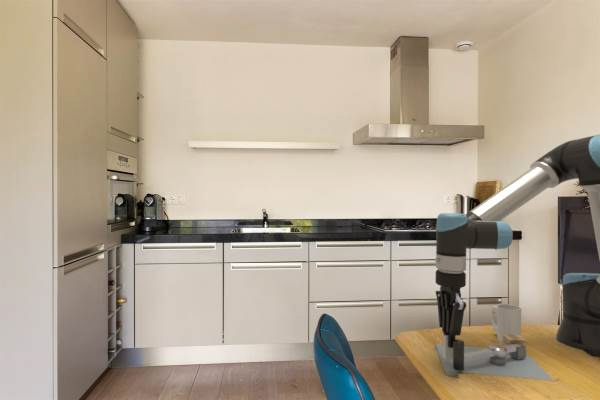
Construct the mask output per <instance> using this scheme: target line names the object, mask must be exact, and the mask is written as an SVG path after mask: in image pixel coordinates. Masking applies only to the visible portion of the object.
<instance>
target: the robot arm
mask: <svg viewBox="0 0 600 400" xmlns="http://www.w3.org/2000/svg"><path fill="white" fill-rule="evenodd" d="M576 179H577V180H578V184H579V185H578V186H579V187H581V188H582V189H583V190H585V191H586V192H587V196H588V202H589V203H588V204H589V209H590V213H591V220H592V225H593V229H594V236H595V242H596V248H597V253H598V257H599V258H598V259H599V261H600V133H599V134H596V135H591V136H586V137H583V138H578V139H571V140H568V141H566V142H564V143H561V144H559V145H557V146H555V147H554V148H553V149H552V150H550V151H548V152H546V153H545V154H544V155H542V156H541V157H540V158H538V159H536V160H535V161H534V162H532V163H531V165H530V166H529V169H528V170H527V171H525V172H523V173H522V174H521V175H520V176H518V177H516V178H515V179H514V180H513V181H511V182H510V183H508V184H507V185H505V186H504V187H502V188H501V189H500V190H498V191H497V192H495V193H494V194H493V195H491V196H490V197H489V198H487V199H486V200H484V201H483V202H481V203H480V204H478V205H477V206H475V207H474V208H473V209H471V210H470V211H468V212H466V213H456V212H455V213H452V212H451V213H450V212H444V213H439V214H437V218H436V227H435V234H436V242H435V243H436V244H435V245H436V247H435V248H436V249H435V253H436V254H435V258H434V261H435V268H436V269H437V270H435V284H436V285H438V286H439V290H435V296H436V301H437V313H438V323H439V328H441V331H442V332H443V336H442V338H443V339H442V341H443V342H442V344H443V357H444V358H445V359H453V340H454V339H456V337H457V336H461V334H462V333H461V332H462V328H463V327H462V326H463V320H464V315H465V310H466V308H467V302H464V301H462V299H461V298H462V294H461V293H462V292H461V289H462V288H464V287H466V284H467V283H466V279H467V277H466V276H467V273H466V272H465V271H466V270H467V250H468V249H469V250H471V249H473V250H475V249H477V250H479V249H482V250H499V249H500V250H503V249H508V248H509V247H510V246H511V244H512V242H513V239H514V238H513V237H514V236H513V235H514V233H513V229H512V227H511V225H510V224H509V223H508V222H506V221H503V219H505V218H507V217H508V216H509V215H511V214H512V213H514V212H515V211H517V210H518V209H520V208H521V207H523V206H524V205H525V204H526V203H527V204H528V203H529V201H531V200H532V199H534V198H535V197H537V196H538V195H540V194H541V193H542V192H544V191H546V190H547V189H552V188H553V189H554V188H555V187H557V186H559V185H560V184H562V183H564V182H567V181H570V180H576ZM561 287H562V288H561V289H562V291H561V292H562V320H561V322H560V324H559V327H558V328H557V331H556V335H555V339H556V340H557V342H559V343H561V344H563V345H565V346H567V347H571V348H574V349H577V350H581V351H583V352H585V353H586V354H588V356H589V355H590V356H595V357H596V356H599V357H600V273H595V272H594V273H591V272H569V273H566V274H565V273H564V275H563V277H562V283H561Z"/></svg>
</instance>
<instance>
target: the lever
mask: <svg viewBox="0 0 600 400" xmlns="http://www.w3.org/2000/svg"><path fill="white" fill-rule="evenodd" d="M464 346H465V341H464V340H463V339H457V338H455V339H454V340H453V368H454V369H455V370H459V371H462V370H464V362H469V361H474V360H479V359H483V358H488V357H496V358H506V357H507V353H510V356H511V357H514V358H516V359H522V358H526V353H527V345H526V346H523V345H521V344H518V343H516V344H510V345H505V346H503V345H502V344H501V345H500V344H495V343H494V344H488V347H487V348H488V349H483V350H478V351H473V352H468V353H464Z"/></svg>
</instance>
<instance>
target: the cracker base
mask: <svg viewBox="0 0 600 400" xmlns="http://www.w3.org/2000/svg"><path fill="white" fill-rule="evenodd" d="M434 347H435V348H434V349H435V351H436V353H437V356H438V358H439V360H440V362H441V363H440V364H441V365H442V367H443V370H444V372H445V375H446V376H449V377H450V376H452V377H460V375H459V373H470V374H479V375H486V376H487V375H489V376H498V377H499V376H500V377H507V378H508V377H509V378H518V379H527V380H528V379H530V380H541V381H550V382H551V381H552V382H555V380H554V379H553V378H552V377H551V376H550V375H549V373H547V372H546V371H545V370H544V369H543V368H542V367H541V366H540V365H539V364H538V362H536V360H534V359H533V358H532V357H531V356H530V355H529V354H528V353H527V352H526V358H522V359H516V358H514V357H511V356H510V355H508V354H507V357H506V358H496V357H488V358H483V359H479V360H474V361H469V362H464V370H462V371H459V370H455V369H454V368H453V359H445V358H444V357H443V343H441V344H440V343H435V345H434ZM483 349H488V347H478V346H477V347H476V346H467V345H466V346H465V345H464V353H468V352H473V351H478V350H483Z"/></svg>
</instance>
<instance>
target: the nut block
mask: <svg viewBox="0 0 600 400" xmlns="http://www.w3.org/2000/svg"><path fill="white" fill-rule="evenodd" d="M516 343H518V344H521V345H523V346H526V347H527V340H526V339H525V338H523V336H520V335H511V334H503V342H502V346H505V345H510V344H516ZM507 354H508V355H510V353H507Z"/></svg>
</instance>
